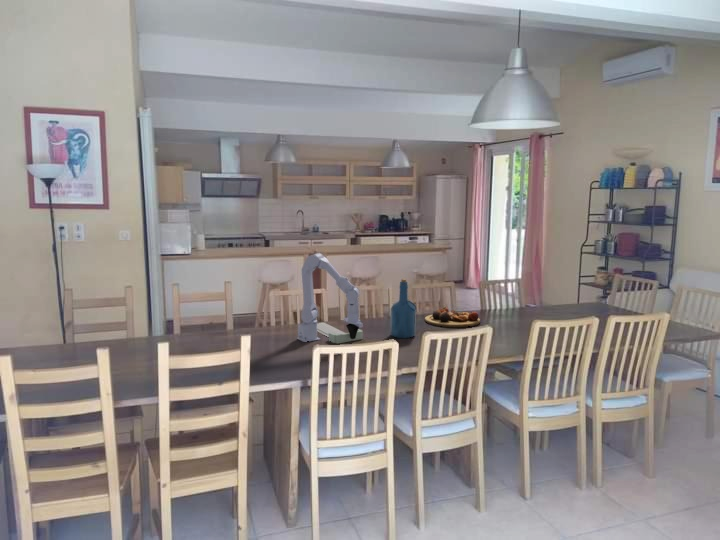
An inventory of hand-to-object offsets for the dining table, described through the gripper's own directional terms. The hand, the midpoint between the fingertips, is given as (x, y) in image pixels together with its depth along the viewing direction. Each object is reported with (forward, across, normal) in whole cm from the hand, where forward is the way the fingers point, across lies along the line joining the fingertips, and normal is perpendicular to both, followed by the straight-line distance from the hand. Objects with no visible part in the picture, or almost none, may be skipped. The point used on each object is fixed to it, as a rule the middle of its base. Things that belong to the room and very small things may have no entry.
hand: (352, 338), depth 268 cm
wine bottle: (+2, -4, -29) cm, 29 cm away
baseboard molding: (+3, +27, 0) cm, 27 cm away
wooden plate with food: (+3, +5, -73) cm, 74 cm away
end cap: (+2, +6, 0) cm, 6 cm away
